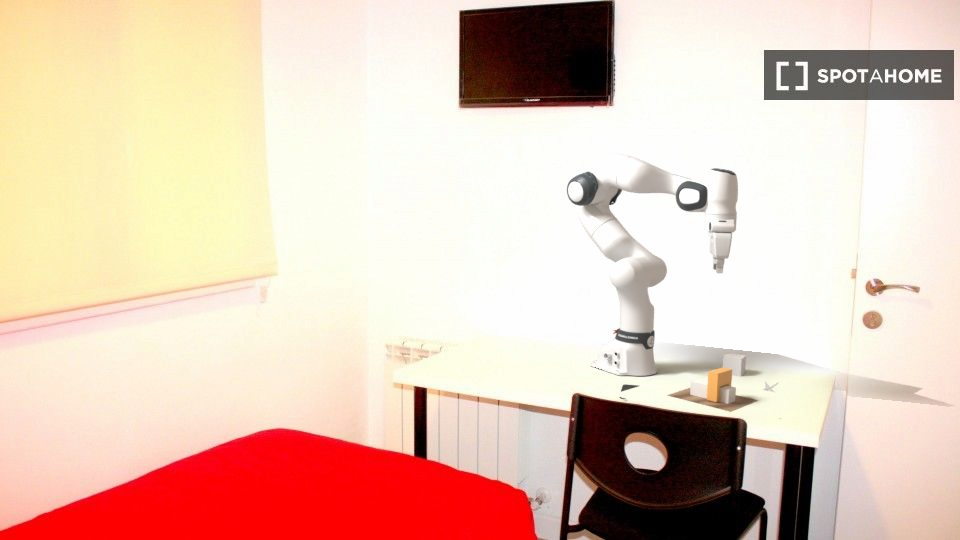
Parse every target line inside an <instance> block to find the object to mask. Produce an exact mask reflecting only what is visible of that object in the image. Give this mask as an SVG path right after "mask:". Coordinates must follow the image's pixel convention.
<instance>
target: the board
mask: <svg viewBox="0 0 960 540" xmlns="http://www.w3.org/2000/svg"><path fill="white" fill-rule="evenodd" d="M690 389H691V387H688V388H685V389H682V390H679V391H676V392H673V393H670V394H669V393H668V394H667V396H668V397H671V398H675V399H676V398H677V399H679V400H683V401H687V402H691V403H695V404H698V405H699V404H700V405H703V406H706V407H710V408H714V409H719V410H723V411H726V412H729V413H731V412H734V411H736V410H739V409H742V408H744V407H746V406H749V405H751V404H753V403H757V402H759V400H758V399H754V398H750V397H746V396H742V395H738V394H736V397H735V402H732V403H729V404H726V403H722V402H713V401H709V400H707V399H706V398H702V397H698V396H694V395H690Z"/></svg>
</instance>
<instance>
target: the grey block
mask: <svg viewBox="0 0 960 540" xmlns="http://www.w3.org/2000/svg"><path fill="white" fill-rule="evenodd" d="M746 363H747V355H745V354H744V355H743V354H737V353H729V352H728V353H726V354H725V355H723V356H722V367H724V368H728V369H732V376H734V377H741V376H743V375H744V374H745V373H746V365H747V364H746Z"/></svg>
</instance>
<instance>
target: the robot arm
mask: <svg viewBox="0 0 960 540" xmlns="http://www.w3.org/2000/svg"><path fill="white" fill-rule="evenodd" d="M738 187H739V182H738V176H737V174H736V173H735V172H734V171H732V170H730V169H725V168H724V169H723V168H717V167H715V168H710V169H709V170H708V171H707V172H706V173H704V174H703V175H700V176H699V177H696V178H693V179H691V178H689V177H684V176H682V175H677V174H674V173H671V172H669V171H667V170H665V169H662V168H660V167H658V166H655V165H653V164H651V163H649V162H647V161H644V160H642V159H640V158H637V157H634V156H631V155H628V154H627V155H626V154H620V153H607V154H605V155H603V156H602V157H601V158H600V159H599V161H598V164H597V167H596V169H595V170H591V171H585V172H583V173H580V174H578V175H576V176H574V177H572V178H571V179H570V180H569V181H568V183H567V186H566V194H567V198H568V199H569V201H570V202H571V203H572V204H573V205H575V206H579V207H582V208H580V211H579V213H578V218H579V220H580V222H581V224H582V225H581V226H582V227H583V229H584V230H585V232H586V233H587V235H588V237H589V238H590V239H591V240H592V242H593V243H594V244H595V246H596V247H597V248H598V249H599V250H600V253H601V254H603V256H604V257H606V258H607V259H609V260H611V261H613V262H614V263H613V264H612V266H611V267H610V269H609V279H610V282H611V284H612V285H613V286H614V288H615V290H616V293H617V296H618V300H619V309H620V310H619V311H620V313H619V316H620V317H619V318H620V319H619V327H618V328H617V329H615V330H613V333H612V334H613V335H615V336H614V339H612V340H611V341H609V342H607V344H605V345H603V346H602V347H601V348H600V349H599V351H598V355H597V359H596V360H593V361H592V362H591V363H590V367H593V368H595V367H596V368H595V369H598V368H599V370H601V369H602V371H604V372H607V373H609V374H613V375H617V376H633V377H634V376H635V377H637V376H639V377H641V376H642V377H643V376H651V375H655V374H657V369H656V368H657V367H656V363H655V357H654V356H655V355H654V345H655V330H654V324H655V323H654V321H655V306H654V305H653V304H652V302H651V299H650V296H649V290H648V289H649V288H652V287H655V286H657V285H658V284H660V283H661V282H663V281H664V280H665V278H666V277H667V273H668V272H667V271H668V269H667V265H666V262H665V261H664V260H663V259H662V258H661V257H659V256H657V255H655V254H653V253H652V252H651V251H650V250H648V249H647V248H646V247H645V246H643V244H641V243H640V242H639V241H637V240H636V239H635V238H634V237H633V236H632V235H631V234H630V233H629V232H628V230H627V229H626V228H625V227H624V226H623V224H622V223H621V222H620V221H619V220H618V218H617V216H615V215H614V214H613V212H612V211H611V209H610V208H611V207H610V206H612V205H614V204H616V202H617V199H618V198H619V196H620V195H621V193H622V192H624V191H625V192H628V193H633V194H634V193H635V194H668V195H673V196H675V200H676V204H677V206H678V207H679V209H681V210H683V211H685V212H689V213H704V230H705V231H708V236H709V237H710V238H709V240H710V241H709V253H710V254H711V255H712V265H713V266H712V269H713V270H715V272H716V273H717V274H723V273H724V266H725V261H726V259H727V260H728V259H729V257H730V252H731V247H732V240H733V233H735V232H736V231H737V219H738V218H737V217H738V216H737V214H738V213H737V203H738V197H739V188H738Z"/></svg>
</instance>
